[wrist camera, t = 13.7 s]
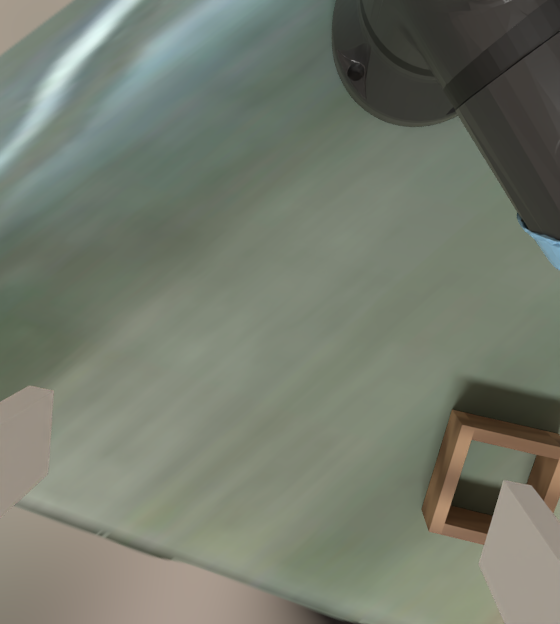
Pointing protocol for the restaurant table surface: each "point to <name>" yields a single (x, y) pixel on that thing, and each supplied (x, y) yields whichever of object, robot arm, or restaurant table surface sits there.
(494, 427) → the brown open square frame
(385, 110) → the robot arm
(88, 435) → the restaurant table surface
